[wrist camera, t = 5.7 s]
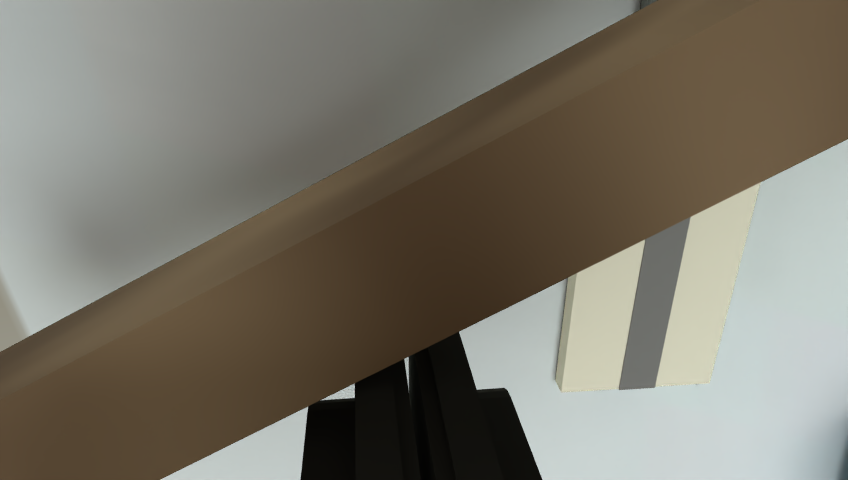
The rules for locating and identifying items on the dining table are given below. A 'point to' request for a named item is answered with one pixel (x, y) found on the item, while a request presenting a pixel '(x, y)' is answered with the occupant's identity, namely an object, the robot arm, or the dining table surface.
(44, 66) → the dining table surface
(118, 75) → the dining table surface
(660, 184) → the swing bar
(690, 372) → the label tile
